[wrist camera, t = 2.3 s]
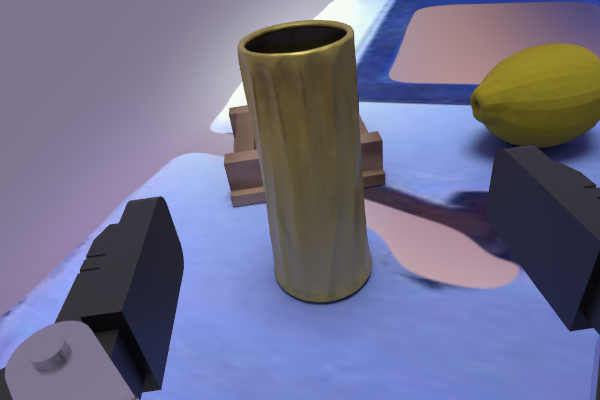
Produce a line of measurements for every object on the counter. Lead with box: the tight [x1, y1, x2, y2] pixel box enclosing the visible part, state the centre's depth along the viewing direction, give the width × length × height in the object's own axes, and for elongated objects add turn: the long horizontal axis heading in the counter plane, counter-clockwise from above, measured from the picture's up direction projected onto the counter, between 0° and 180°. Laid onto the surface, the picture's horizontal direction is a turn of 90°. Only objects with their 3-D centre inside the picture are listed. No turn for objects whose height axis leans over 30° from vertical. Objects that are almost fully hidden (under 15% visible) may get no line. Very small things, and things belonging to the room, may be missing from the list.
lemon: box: [470, 43, 600, 148], centre depth 34 cm, size 11×8×8 cm
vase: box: [238, 20, 372, 303], centre depth 24 cm, size 6×6×14 cm
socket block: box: [224, 98, 385, 207], centre depth 38 cm, size 12×12×4 cm
